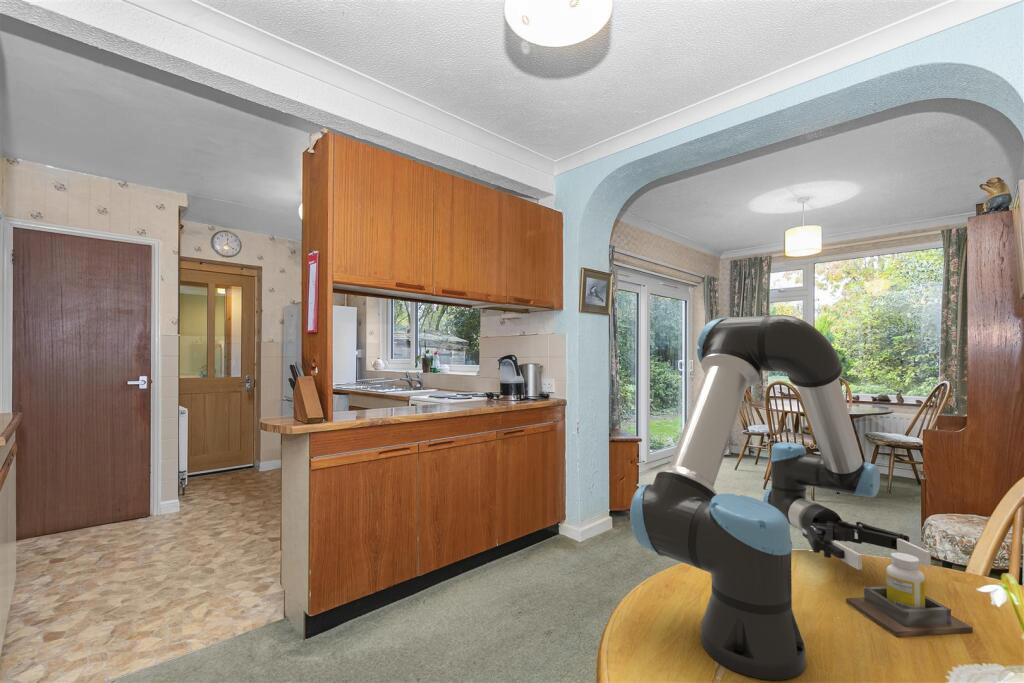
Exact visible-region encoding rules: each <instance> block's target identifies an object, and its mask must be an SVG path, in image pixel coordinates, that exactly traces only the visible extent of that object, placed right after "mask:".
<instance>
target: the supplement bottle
mask: <svg viewBox="0 0 1024 683" xmlns="http://www.w3.org/2000/svg"><path fill="white" fill-rule="evenodd" d="M890 562H891V564H889V565H888V566H887V567H886V572H885V574H886V586H887V599H888V600H890V601H892V602H893V603H895V604H897V605H898V606H900V607H902V608H903V609H920V608H925V596H926V580H925V579H926V578H925V575H924V573H923V572H922V571H921V570H919V568H920V563H919V559H918V558H917V557H915V556H912V555H909V554H905V553H898V552H892V553H891V554H890Z"/></svg>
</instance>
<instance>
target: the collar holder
mask: <svg viewBox="0 0 1024 683" xmlns="http://www.w3.org/2000/svg"><path fill="white" fill-rule="evenodd" d="M863 596H864V597H862V596H861V597H847V598H845V603H846V604H848V605H849V606H851V607H852V608H853V609H855V610H856V611H858V612H859V613H861V614H862V615H864V616H865V617H866V618H868V619H869V620H871V621H873V623H876V624H877V625H878V626H879V627H881V628H883V629H884V630H886V631H887V632H889V633H890V634H891V635H893V636H895V637H896V638H897V637H910V636H912V637H913V636H928V635H931V636H932V635H943V634H946V635H947V634H960V633H961V634H962V633H973V632H974V628H973V626H971V625H970V624H968V623H966V622H965V621H963V620H961V619H959V618H957V617H956V616H953V615H952V609H950V607H948V606H946V605H943V604H942V603H940V602H938V601H936V600H934V599H933V598H931V597H929V596H927V595H925V608H920V609H903V608H902V607H900V606H898V605H897V604H895V603H893V602H892V601H890V600H888V599H887V585H886V586H867V587H866V586H865V587H863Z"/></svg>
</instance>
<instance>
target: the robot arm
mask: <svg viewBox="0 0 1024 683" xmlns="http://www.w3.org/2000/svg"><path fill="white" fill-rule="evenodd" d="M697 345H698V347H697V348H696V355H697V358H698V362H699V363H700V365H701V369H702V371H703V372H704V375H703V378H702V380H701V383H700V386H699V388H698V391H697V393H696V396H695V398H694V401H693V404H692V406H691V409H690V411H689V413H688V415H687V416H688V417H687V418H686V421H685V424H684V427H683V429H682V433H681V435H680V437H679V440H678V443H677V445H676V447H675V450H674V452H673V455H672V457H671V460H670V462H669V465H668V467H667V468H666V469H661V470H659V471H657V473H656V476H655V478H654V481H653V483H648V484H647V483H646V484H642V485H641V486H640V487H638V488H637V489H636V491H635V492H634V494H633V496H632V499H631V504H630V510H629V520H630V522H629V523H630V524H631V525H630V526H631V531H632V534H633V536H634V538H635V540H636V541H637V543H638V544H639V545H640V546H641V547H643V548H645V549H647V550H649V551H651V552H653V553H655V554H656V555H657V556H659V557H660V556H661V557H667V558H670V559H672V560H674V561H678V562H681V563H684V564H687V565H689V566H690V567H691V566H692V567H693V568H696V569H699V570H702V571H705V572H707V573H709V574H710V575H711V594H710V597H709V600H708V603H707V607H706V608H705V611H704V615H703V618H702V620H701V625H700V640H701V645H702V647H703V648H704V650H705V651H706V653H707V654H708V655H709V656H710V657H711V658H712V659H714V660H715V661H716V662H718V663H719V664H721V665H722V666H724V667H726V668H728V669H730V670H732V671H735V672H737V673H738V674H741V675H745V676H748V677H752V678H756V679H759V680H761V679H762V680H768V681H769V680H770V681H781V680H782V681H783V680H784V681H785V680H789V679H792V678H793V679H794V678H795V677H797V676H799V675H801V674H802V673H803V672H804V670H805V668H806V662H807V659H806V658H807V656H806V655H807V654H806V646H805V643H804V640H803V636H802V634H801V631H800V628H799V626H798V623H797V621H796V620H797V619H796V618H795V614H794V611H793V605H792V604H793V602H792V601H793V599H792V595H793V594H792V593H793V592H792V588H793V587H792V584H793V583H792V550H793V542H792V540H791V539H792V538H791V528H790V527H791V526H792V527H793V528H795V529H797V530H799V531H801V532H802V537H804V538H805V539H807V541H808V543H809V545H810V547H811V550H812V551H813V553H816V554H820V553H821V552H823V556H824V557H825V558H827V559H831V558H832V556H834V557H836V558H837V559H839V560H841V561H842V562H844V563H846V564H847V565H849V566H850V567H853V568H854V569H856V570H858V571H862V570H863V556H862V555H863V554H861V553H859V552H857V551H855V550H853V549H851V548H849V547H847V546H846V545H844V544H842V543H840V542H850V543H854V544H860V545H861V544H863V543H864V544H865V543H866V544H868V545H873V546H878V547H882V548H887V549H891V550H895V551H896V553H905V554H909V555H912V556H915V557H917V558H918V559H919V565H920V564H921V565H922V566H924V567H927V568H929V567H931V562H932V561H931V551H929V550H927V549H924V548H922V547H920V546H919V545H915V544H913V543H911V542H910V536H909V535H906V534H903V533H898V532H894V531H891V530H886V529H883V528H881V527H876V526H872V525H868V524H866V523H863V522H861V521H856V522H855V523H856V524H852V523H849V522H847V521H843V519H842V517H840V515H839V514H838V513H837V512H836V511H834V510H833V509H830V508H828V507H826V506H823V505H822V504H820V503H817V502H815V501H814V500H811V499H808V498H807V487H812V488H816V489H823V490H828V491H833V492H837V493H840V494H841V493H843V494H847V495H851V496H854V497H855V496H856V497H857V496H860V497H866V498H875V497H876V496H877V495H878V493H879V490H880V487H881V486H880V485H881V473H880V469H879V467H878V466H877V465H876V464H873V463H870V462H868V461H863V458H862V454H861V450H860V446H859V443H858V440H857V436H856V434H855V429H854V426H853V423H852V420H851V416H850V412H849V410H848V406H847V403H846V398H845V396H844V392H843V389H842V385H841V381H840V377H841V376H842V374H843V367H842V364H841V360H840V357H839V355H838V352H836V351H837V350H836V349H835V348H834V346H833V345H832V344H831V342H830V341H829V340H828V339H827V337H826V336H825V335H824V334H822V332H821V331H819V330H818V329H817V328H816V327H815V326H813V325H811V324H809V323H808V322H807V321H806V320H803V319H801V318H798V317H796V316H793V315H789V314H788V315H787V314H774V315H756V316H755V315H754V316H752V315H751V316H738V317H737V316H736V317H735V316H726V317H723V318H722V317H721V318H716V319H712V320H710V321H709V322H707V323H706V324H705V325H704V327H703V328H702V329H701V331H700V333H699V335H698V339H697ZM762 372H783V373H785V374H786V375H787V378H788V380H789V382H790V383H791V384H792V385H794V386H795V387H797V390H798V392H799V396H800V399H801V402H802V403H803V408H804V410H805V413H806V416H807V419H808V421H809V424H810V427H811V431H812V434H813V436H814V439H815V442H816V444H817V448H818V450H819V454H820V455H815V454H809V453H808V454H807V451H806V450H807V449H806V447H805V446H804V445H803V444H801V443H796V442H787V441H786V442H781V441H780V442H776V443H774V444H773V445H772V446H771V456H770V469H771V475H770V476H771V487H769V488H768V489H766V491H765V493H764V495H763V498H762V499H763V500H762V499H758V498H754V497H753V496H747V495H743V494H734V493H721V494H717V491H716V490H715V488H714V486H715V484H716V483H715V482H716V480H717V477H718V474H719V472H720V468H721V466H722V463H723V460H724V456H725V454H726V452H727V448H728V445H729V441H730V439H731V437H732V434H733V430H734V427H735V424H736V421H737V418H738V415H739V413H740V410H741V406H742V404H743V400H744V397H745V394H746V391H747V389H748V388H749V387H752V386H753V387H754V386H755V385H756V384H757V383H758V381H759V379H760V375H761V373H762ZM856 534H857V538H856Z"/></svg>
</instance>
